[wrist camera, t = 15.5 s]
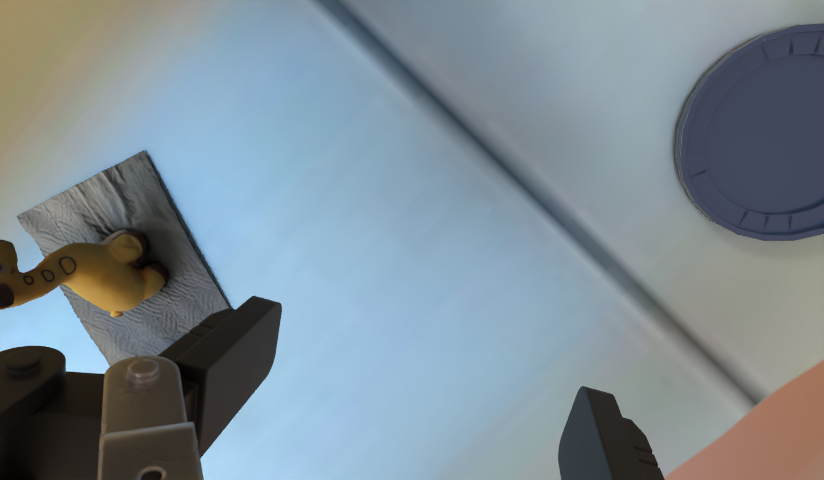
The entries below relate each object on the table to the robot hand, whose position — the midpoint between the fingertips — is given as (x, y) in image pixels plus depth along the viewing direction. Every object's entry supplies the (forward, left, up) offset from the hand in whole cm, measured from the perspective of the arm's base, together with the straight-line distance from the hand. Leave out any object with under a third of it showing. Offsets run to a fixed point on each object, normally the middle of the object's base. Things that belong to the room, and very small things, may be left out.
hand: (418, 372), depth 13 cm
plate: (+14, +18, -30) cm, 38 cm away
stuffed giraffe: (-18, -29, -30) cm, 46 cm away
